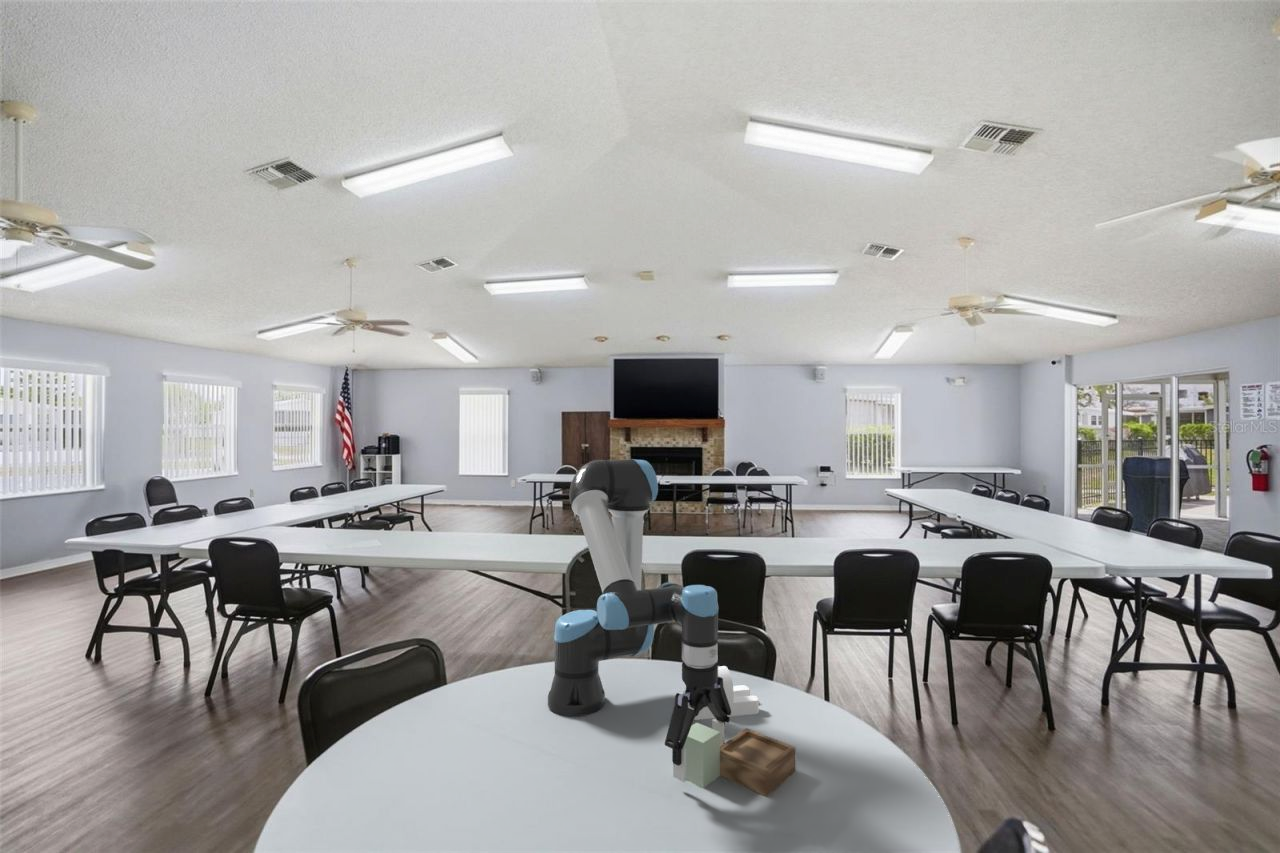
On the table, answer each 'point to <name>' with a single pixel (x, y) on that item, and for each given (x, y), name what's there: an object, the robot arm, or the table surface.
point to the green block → (702, 755)
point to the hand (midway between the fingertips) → (699, 764)
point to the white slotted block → (733, 698)
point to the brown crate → (757, 761)
